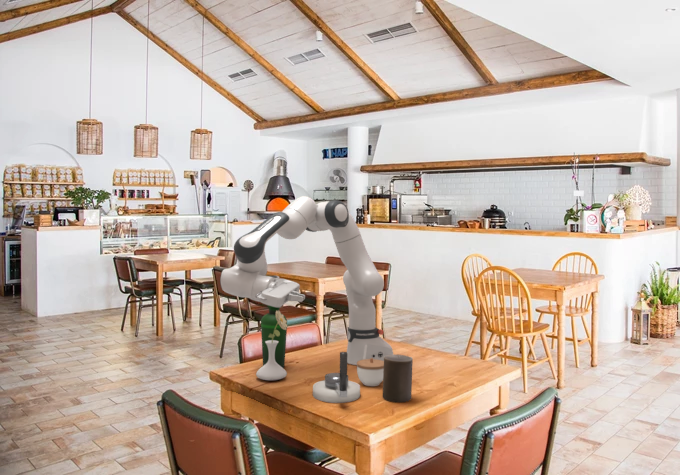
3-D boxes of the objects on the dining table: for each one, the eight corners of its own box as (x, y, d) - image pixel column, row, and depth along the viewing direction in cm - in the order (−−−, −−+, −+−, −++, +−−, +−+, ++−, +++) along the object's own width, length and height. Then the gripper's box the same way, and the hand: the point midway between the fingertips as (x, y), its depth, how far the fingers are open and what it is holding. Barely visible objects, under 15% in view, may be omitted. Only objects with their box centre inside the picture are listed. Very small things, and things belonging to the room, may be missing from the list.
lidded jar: (365, 389, 203) (366, 363, 203) (351, 381, 213) (351, 356, 212) (391, 386, 208) (392, 360, 208) (376, 378, 218) (376, 353, 217)
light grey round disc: (351, 386, 207) (351, 377, 207) (366, 400, 192) (366, 391, 192) (307, 389, 202) (307, 380, 202) (320, 404, 187) (320, 394, 187)
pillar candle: (391, 404, 189) (392, 358, 188) (377, 395, 198) (378, 351, 197) (417, 400, 193) (418, 356, 192) (402, 392, 202) (403, 349, 201)
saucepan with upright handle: (323, 381, 200) (323, 341, 199) (345, 380, 202) (346, 341, 201) (331, 397, 183) (331, 354, 183) (356, 396, 185) (356, 353, 184)
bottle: (289, 364, 235) (290, 295, 233) (284, 371, 224) (285, 299, 223) (263, 363, 236) (264, 294, 234) (257, 370, 225) (257, 299, 224)
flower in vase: (273, 385, 207) (274, 315, 206) (249, 379, 213) (250, 312, 212) (295, 376, 218) (296, 310, 217) (271, 371, 224) (272, 307, 223)
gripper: (254, 287, 185) (294, 297, 182) (276, 274, 205) (313, 282, 202) (251, 306, 186) (291, 316, 183) (274, 291, 206) (311, 300, 203)
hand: (303, 298), depth 193 cm, fingers closed
